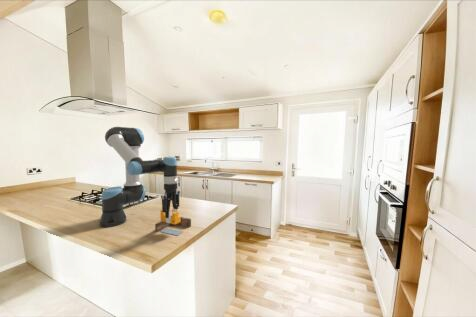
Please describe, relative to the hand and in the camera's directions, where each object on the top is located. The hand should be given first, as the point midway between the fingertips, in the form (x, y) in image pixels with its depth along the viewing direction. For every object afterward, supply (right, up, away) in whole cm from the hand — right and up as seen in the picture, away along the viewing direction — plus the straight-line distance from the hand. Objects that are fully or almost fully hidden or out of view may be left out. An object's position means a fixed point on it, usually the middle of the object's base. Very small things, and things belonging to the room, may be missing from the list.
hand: (171, 220), depth 113 cm
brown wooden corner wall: (0, -7, +5) cm, 8 cm away
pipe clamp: (-1, -1, 0) cm, 1 cm away
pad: (0, -7, +1) cm, 7 cm away
